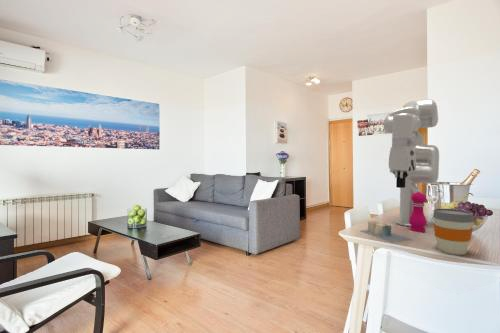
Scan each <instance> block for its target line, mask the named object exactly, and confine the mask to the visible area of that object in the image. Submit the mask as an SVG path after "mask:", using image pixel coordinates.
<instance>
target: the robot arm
mask: <svg viewBox="0 0 500 333" xmlns="http://www.w3.org/2000/svg"><path fill="white" fill-rule="evenodd" d="M438 123H439V114H438V106H437V103H436V102H435V100H433V99H423V100H422V99H421V100H412V101H408V102H407V103H405V104H404V106H403V107H402V108H400V109H398V110H394V111H391V112H390V113H388V114H387V115H386V116H385V118H384V120H383V129H384V132H385V133H387V134H391V135H392V136H391V147H390V151H389V155H388V168H389V172H390V173H391V174H393V175H394V178H396V182H395V183H396V188H400V191H399V217H398V218H399V219H396V220H395V223H396V224H397V225H400V226H403V227H409V228H410V226H411V224H410V223H409V219H410V216H411V215H412V212H413V205H412V204H413V201H412V199H411V197H412V195H413V194H414V193H417V190H418V189H419V190H421V189H420V187H419V186H418V185H417V184H436V183H437V181H438V179H439V170H440V166H439V165H440V151H439V148H438V146H436V145H433V144H427V145H426V144H424V137H423V135H422V134H421V133H420V132H419V130H420V129H422V128H423V129H424V128H427V129H428V128H434V127H436V126H437V125H438ZM420 193H422V191H421V192H420ZM425 218H426V219H427V217H426V216H425Z"/></svg>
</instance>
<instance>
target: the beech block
mask: <svg viewBox="0 0 500 333" xmlns="http://www.w3.org/2000/svg"><path fill="white" fill-rule="evenodd" d="M367 230H368V231H369V232H372V233H375V234H378V235H381V236H390V235H391V233H392V225H391V224H387V223H383V222H380V221H377V220H372V221H368V222H367Z"/></svg>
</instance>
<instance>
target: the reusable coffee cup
mask: <svg viewBox="0 0 500 333" xmlns="http://www.w3.org/2000/svg"><path fill="white" fill-rule="evenodd" d="M432 217H433V220H434V221H433V222H434V223H433V231H434V237H435V239H436V247H437V249H438V250H440V251H441V252H442V253H445V254H449V255H460V256H461V255H466V254H467V251H468V246H469V242H470V241H471V238H472V233H473V228H472V226H473V222H474V219H475V218H474V212H471V211H468V210H463V209H462V210H461V209H456V208H435V209H433V215H432Z"/></svg>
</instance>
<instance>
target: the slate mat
mask: <svg viewBox="0 0 500 333" xmlns="http://www.w3.org/2000/svg"><path fill="white" fill-rule="evenodd" d="M359 232H361V233H363V234H366V235H369V236H372V237H375V238H378V239H380V240H384V241H386V242H389V243H392V244H393V243H400V242H401V243H402V242H407V241H414V239H412V238H409V237H406V236H403V235H400V234H397V233H393V232H391V235H390V236H381V235H378V234H375V233H372V232H369V231H368V229H366V230H365V229H363V230H359Z"/></svg>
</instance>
